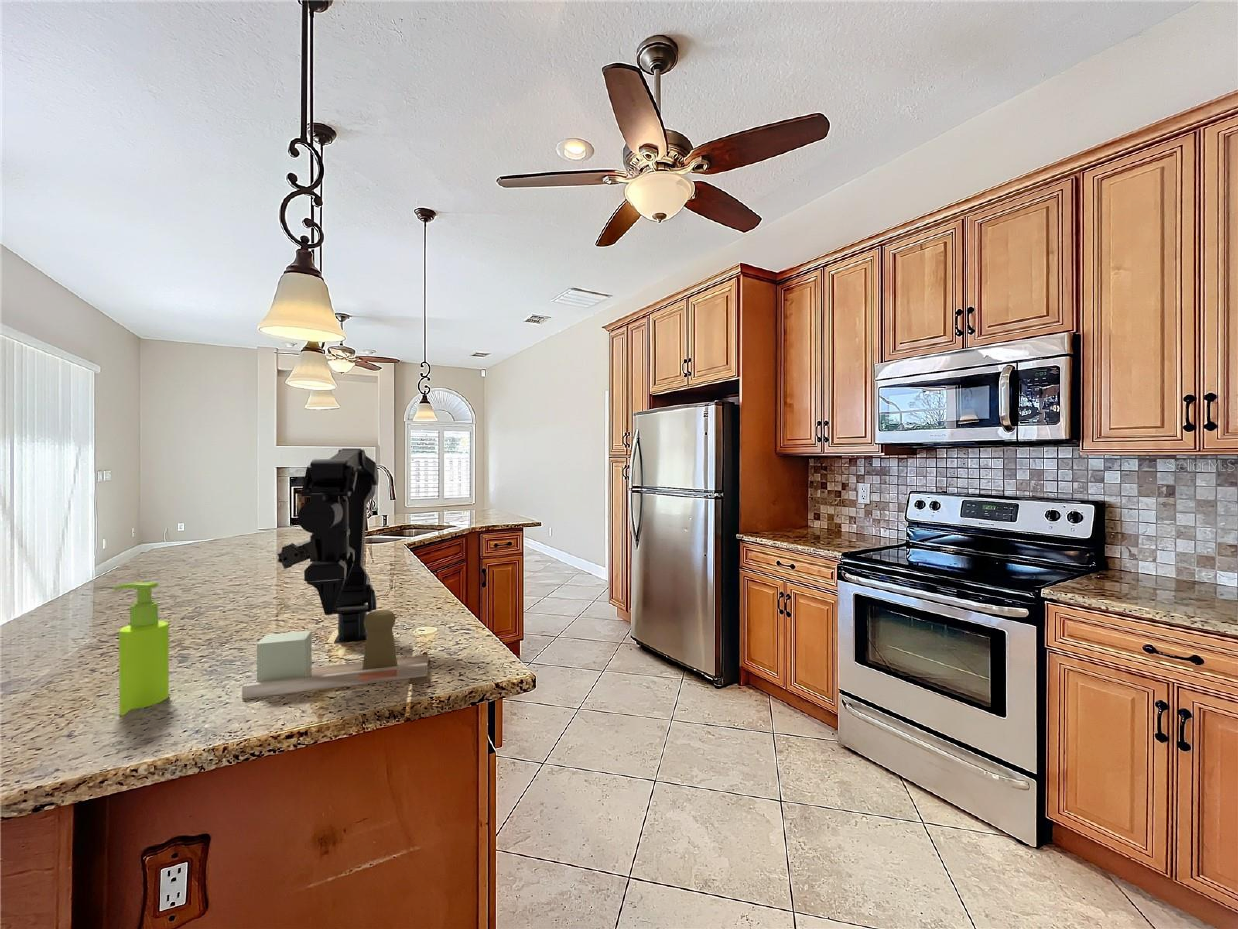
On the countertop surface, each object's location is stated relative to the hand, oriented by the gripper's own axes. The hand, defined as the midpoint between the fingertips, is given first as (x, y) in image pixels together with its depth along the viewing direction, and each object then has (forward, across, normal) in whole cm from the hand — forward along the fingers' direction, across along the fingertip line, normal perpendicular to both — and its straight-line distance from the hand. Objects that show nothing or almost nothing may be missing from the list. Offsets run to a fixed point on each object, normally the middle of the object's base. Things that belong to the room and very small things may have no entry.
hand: (332, 607), depth 101 cm
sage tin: (+10, +8, -6) cm, 14 cm away
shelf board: (+12, +7, +3) cm, 14 cm away
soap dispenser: (+12, +7, -26) cm, 30 cm away
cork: (+10, +8, +9) cm, 16 cm away
